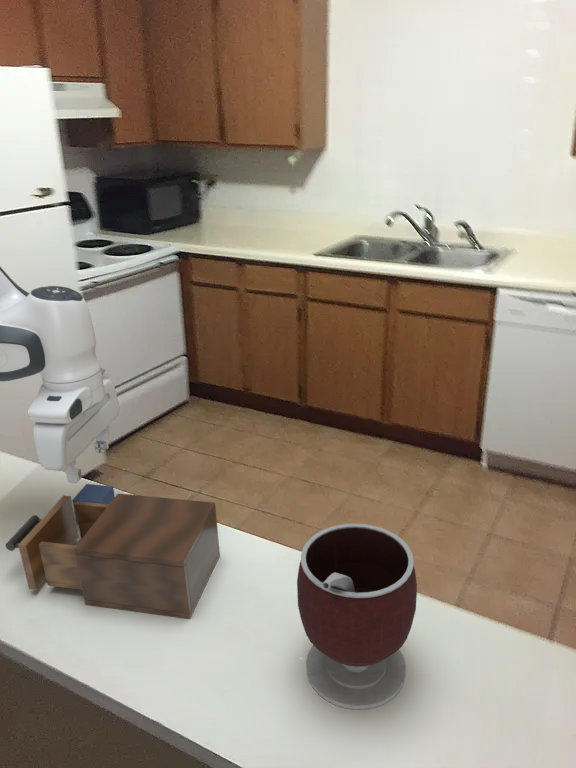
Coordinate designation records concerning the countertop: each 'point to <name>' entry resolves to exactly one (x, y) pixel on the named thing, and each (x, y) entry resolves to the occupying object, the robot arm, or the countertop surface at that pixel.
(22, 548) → the drawer
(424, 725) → the countertop surface
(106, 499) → the block
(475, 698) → the countertop surface
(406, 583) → the mate gourd
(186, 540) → the cabinet
